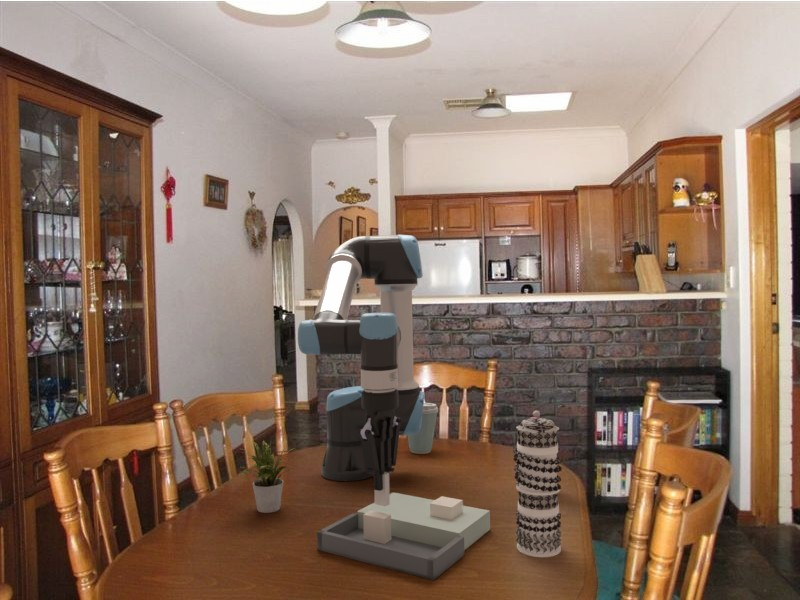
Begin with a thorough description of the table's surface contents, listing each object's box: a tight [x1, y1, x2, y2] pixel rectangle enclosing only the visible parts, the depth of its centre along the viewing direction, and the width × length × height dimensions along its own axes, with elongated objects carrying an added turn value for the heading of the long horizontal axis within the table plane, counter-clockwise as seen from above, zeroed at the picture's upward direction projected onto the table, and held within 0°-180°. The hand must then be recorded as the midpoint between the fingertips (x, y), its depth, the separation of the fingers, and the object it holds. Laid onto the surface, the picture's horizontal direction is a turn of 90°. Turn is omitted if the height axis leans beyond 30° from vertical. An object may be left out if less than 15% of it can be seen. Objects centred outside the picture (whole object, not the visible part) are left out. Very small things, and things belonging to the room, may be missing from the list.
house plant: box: [240, 439, 295, 514], centre depth 150 cm, size 14×14×16 cm
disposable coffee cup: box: [407, 402, 439, 455], centre depth 198 cm, size 11×11×15 cm
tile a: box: [363, 511, 391, 544], centre depth 129 cm, size 5×5×2 cm
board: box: [356, 491, 491, 551], centre depth 135 cm, size 24×14×4 cm, turn 58°
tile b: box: [430, 495, 464, 520], centre depth 133 cm, size 5×5×2 cm
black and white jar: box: [512, 416, 563, 558], centre depth 125 cm, size 9×9×25 cm
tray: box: [316, 512, 465, 581], centre depth 124 cm, size 26×12×4 cm, turn 58°
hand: (382, 503), depth 132 cm, fingers closed
